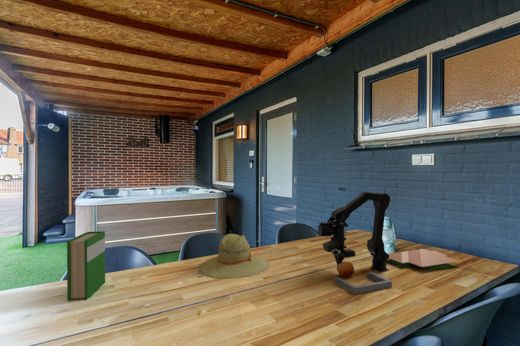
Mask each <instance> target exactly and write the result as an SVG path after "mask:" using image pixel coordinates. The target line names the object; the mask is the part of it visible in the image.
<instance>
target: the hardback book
mask: <svg viewBox="0 0 520 346" xmlns="http://www.w3.org/2000/svg"><path fill="white" fill-rule="evenodd" d="M66 277H67V280H66V283H67V284H66V285H67V286H66V291H67V292H66V294H67V296H66V297H67V299H66V300H67V301H66V302H70V300H71V299H72V300H73V299H75V300H76V299H84V300H85V301H88V300H89V299H90V298H91V297H92V296H93V295H94V294H96V293H97V292H98V291H99V290H100V289H101V288H102V287H103V286H104V285H105V284H104V283H106V233H105V230H104V231H103V230H102V231H97V230H96V231H86V232H84V233H82V234H80V235H78V236H75V237H71V239H70V238H69V239H68V240H66ZM103 284H104V285H103ZM102 285H103V286H102ZM101 286H102V287H101ZM100 287H101V288H100ZM88 298H89V299H88ZM87 299H88V300H87ZM72 300H71V301H72Z"/></svg>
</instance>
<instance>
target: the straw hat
mask: <svg viewBox="0 0 520 346" xmlns="http://www.w3.org/2000/svg"><path fill="white" fill-rule="evenodd" d="M269 268H270V263H269V262H268V261H267V260H266V259H265V258H262V257H259V256H255V255H252V252H251V246H250V244H249V243H248V240H247V238H246V236H245V235H244V234H243V235H239V234H235V233H228V234H226V235H224V236H223V237H222V238H221V240H220V241H219V246H218V255H217V256H214V257H211V258H210V259H207V260H205V261H202V263H200V264H199V266H198V267H197V272H198V274H200V275H201V276H204V277H207V278H211V279H214V280H233V279H234V280H236V279H243V278H244V279H245V278H249V277H252V276H257V275H260V274H262V273H264V272H266V271H268V269H269Z"/></svg>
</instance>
